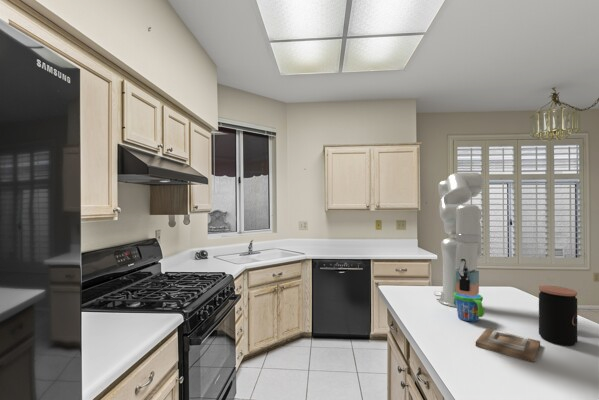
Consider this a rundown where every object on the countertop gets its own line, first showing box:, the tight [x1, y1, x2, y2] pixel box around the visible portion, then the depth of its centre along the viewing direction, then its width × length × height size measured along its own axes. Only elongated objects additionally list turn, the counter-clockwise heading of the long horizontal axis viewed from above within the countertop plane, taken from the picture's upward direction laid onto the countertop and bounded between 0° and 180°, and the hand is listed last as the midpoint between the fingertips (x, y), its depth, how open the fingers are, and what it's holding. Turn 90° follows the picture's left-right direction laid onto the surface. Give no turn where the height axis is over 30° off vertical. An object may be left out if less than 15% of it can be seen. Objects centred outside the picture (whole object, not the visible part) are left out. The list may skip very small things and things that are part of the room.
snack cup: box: [454, 292, 485, 322], centre depth 131 cm, size 16×10×10 cm
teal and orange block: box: [456, 269, 480, 296], centre depth 114 cm, size 6×6×8 cm
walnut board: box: [475, 327, 541, 363], centre depth 106 cm, size 16×16×2 cm
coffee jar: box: [538, 285, 578, 347], centre depth 112 cm, size 11×11×18 cm
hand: (467, 288), depth 113 cm, fingers closed on teal and orange block, 6 cm apart
